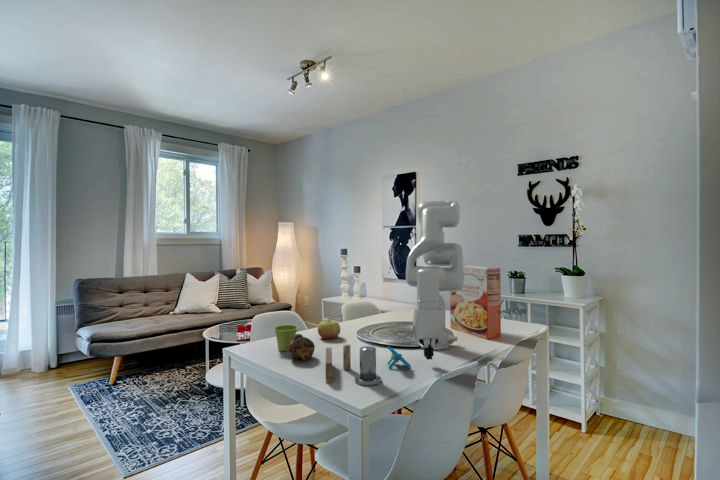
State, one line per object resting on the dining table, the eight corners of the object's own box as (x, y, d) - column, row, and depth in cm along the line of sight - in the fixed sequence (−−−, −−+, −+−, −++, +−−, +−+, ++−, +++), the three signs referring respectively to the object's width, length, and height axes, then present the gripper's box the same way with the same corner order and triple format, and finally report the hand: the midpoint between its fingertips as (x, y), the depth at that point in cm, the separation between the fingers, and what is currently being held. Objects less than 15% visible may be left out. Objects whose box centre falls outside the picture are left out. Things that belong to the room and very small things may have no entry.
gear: (415, 367, 124) (393, 346, 124) (404, 381, 123) (381, 360, 123) (406, 361, 135) (386, 341, 135) (395, 374, 134) (375, 354, 134)
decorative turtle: (306, 351, 149) (307, 330, 149) (320, 365, 136) (322, 343, 135) (282, 353, 144) (283, 332, 144) (294, 368, 131) (295, 345, 131)
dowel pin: (350, 367, 129) (350, 344, 129) (350, 370, 127) (350, 346, 127) (343, 368, 129) (343, 344, 129) (343, 370, 127) (343, 346, 127)
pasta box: (450, 328, 182) (450, 265, 182) (463, 326, 186) (462, 264, 185) (487, 339, 162) (486, 269, 161) (500, 337, 165) (500, 268, 165)
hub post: (379, 375, 122) (378, 344, 122) (382, 385, 114) (382, 352, 114) (354, 376, 121) (353, 345, 121) (356, 386, 113) (355, 353, 113)
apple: (336, 334, 174) (336, 316, 174) (343, 339, 165) (343, 321, 165) (315, 336, 170) (315, 318, 170) (321, 342, 161) (320, 323, 161)
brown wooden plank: (332, 364, 133) (331, 347, 133) (332, 382, 117) (332, 362, 117) (326, 364, 133) (326, 347, 132) (325, 382, 117) (325, 363, 116)
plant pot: (303, 349, 151) (302, 327, 151) (283, 354, 145) (283, 331, 144) (288, 344, 158) (288, 323, 158) (269, 349, 151) (269, 327, 151)
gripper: (446, 302, 134) (446, 354, 135) (404, 303, 133) (404, 355, 133) (453, 306, 127) (453, 361, 127) (408, 307, 126) (409, 362, 126)
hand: (428, 358), depth 130 cm, fingers closed
